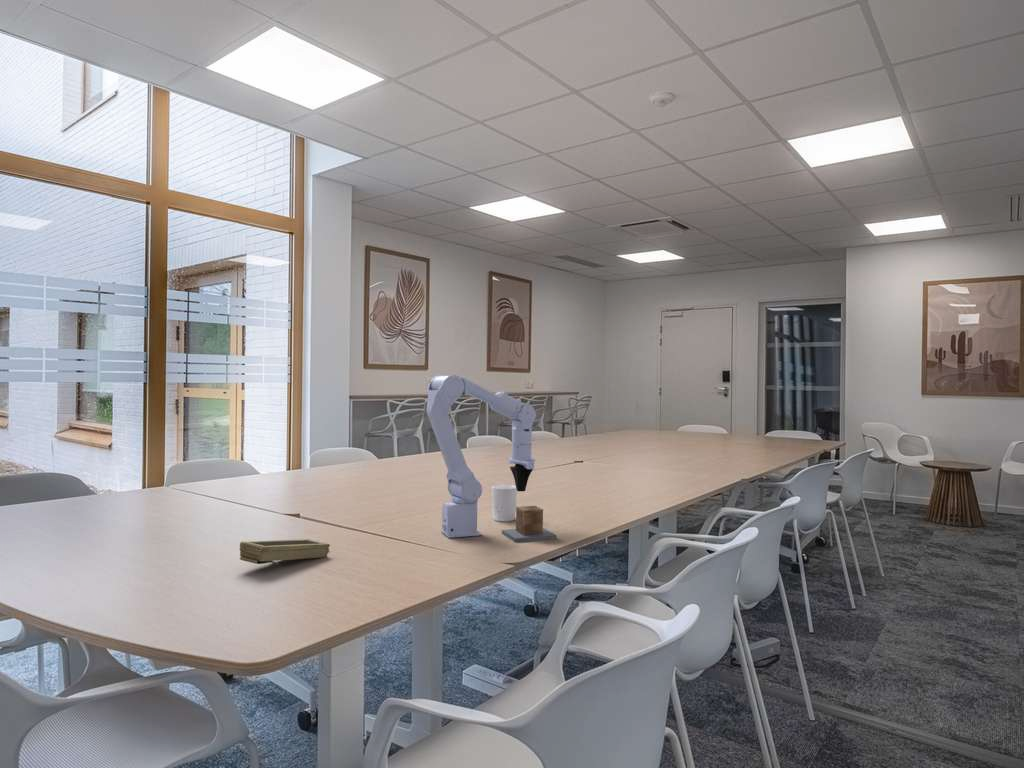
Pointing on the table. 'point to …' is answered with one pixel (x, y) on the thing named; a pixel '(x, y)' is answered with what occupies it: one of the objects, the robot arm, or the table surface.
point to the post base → (519, 537)
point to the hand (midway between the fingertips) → (520, 491)
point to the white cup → (504, 502)
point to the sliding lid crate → (529, 520)
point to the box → (281, 550)
